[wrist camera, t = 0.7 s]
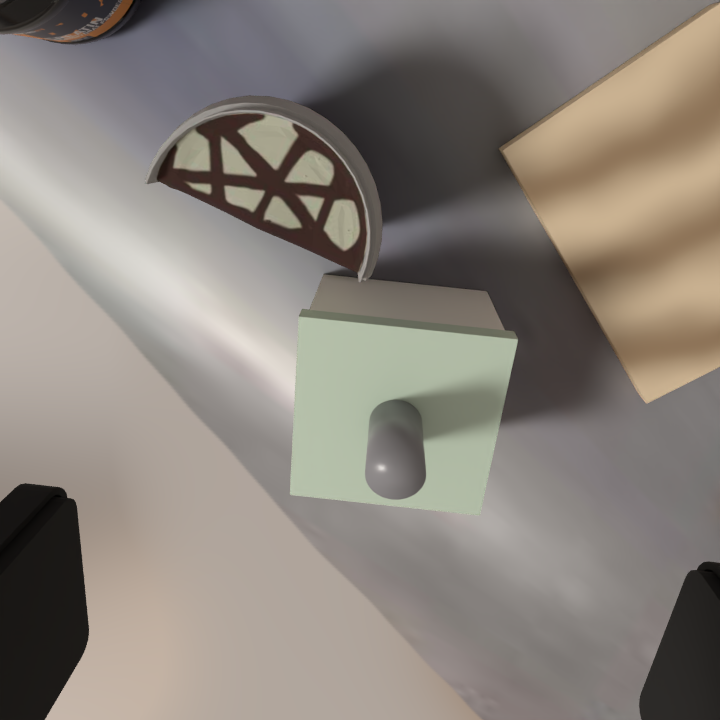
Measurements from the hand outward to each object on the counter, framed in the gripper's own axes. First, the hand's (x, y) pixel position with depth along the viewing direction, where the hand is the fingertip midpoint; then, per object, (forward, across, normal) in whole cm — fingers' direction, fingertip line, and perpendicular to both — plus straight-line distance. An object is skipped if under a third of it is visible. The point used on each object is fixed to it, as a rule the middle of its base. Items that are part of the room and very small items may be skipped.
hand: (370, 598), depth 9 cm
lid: (+25, -2, +9) cm, 27 cm away
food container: (+32, +6, -5) cm, 32 cm away
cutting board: (+31, -17, -3) cm, 36 cm away
